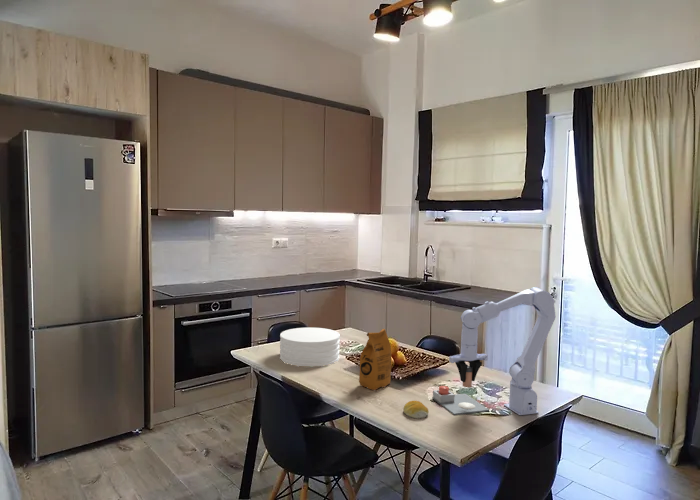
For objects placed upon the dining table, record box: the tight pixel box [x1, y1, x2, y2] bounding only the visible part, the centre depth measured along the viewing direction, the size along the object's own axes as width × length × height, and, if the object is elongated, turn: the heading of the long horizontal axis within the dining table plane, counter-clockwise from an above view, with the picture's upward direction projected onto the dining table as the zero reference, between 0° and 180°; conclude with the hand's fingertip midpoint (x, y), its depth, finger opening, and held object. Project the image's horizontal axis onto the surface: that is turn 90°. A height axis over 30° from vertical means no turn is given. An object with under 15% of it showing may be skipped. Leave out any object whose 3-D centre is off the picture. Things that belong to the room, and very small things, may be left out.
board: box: [431, 389, 490, 416], centre depth 179 cm, size 16×14×3 cm
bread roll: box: [402, 400, 429, 419], centre depth 170 cm, size 8×9×4 cm
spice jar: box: [462, 365, 473, 388], centre depth 177 cm, size 3×3×7 cm
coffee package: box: [358, 328, 392, 391], centre depth 197 cm, size 10×12×22 cm
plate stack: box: [279, 327, 341, 367], centre depth 232 cm, size 28×28×12 cm
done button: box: [438, 385, 450, 395], centre depth 182 cm, size 4×4×3 cm
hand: (467, 380), depth 177 cm, fingers closed on spice jar, 3 cm apart
